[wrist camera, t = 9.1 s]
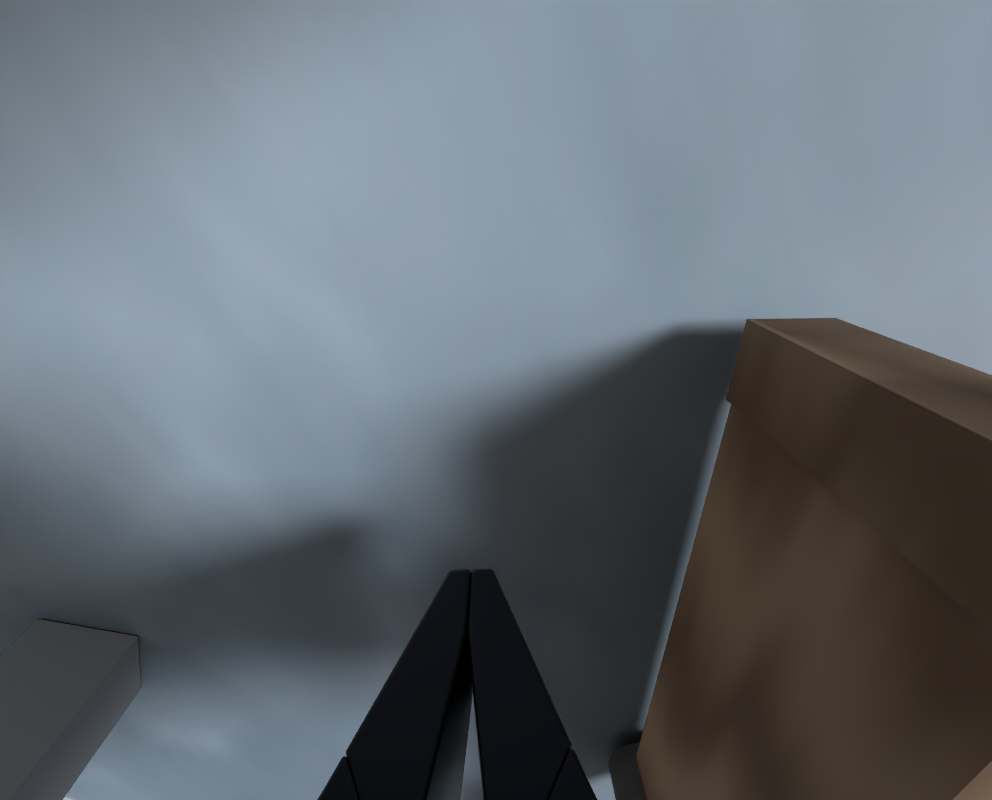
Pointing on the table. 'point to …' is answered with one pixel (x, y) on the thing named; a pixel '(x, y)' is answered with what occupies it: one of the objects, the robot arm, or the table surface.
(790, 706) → the gate
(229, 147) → the table surface
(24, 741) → the post
